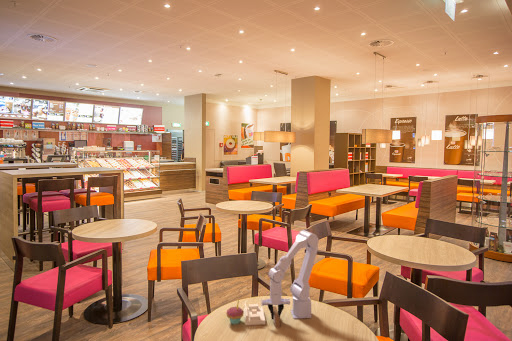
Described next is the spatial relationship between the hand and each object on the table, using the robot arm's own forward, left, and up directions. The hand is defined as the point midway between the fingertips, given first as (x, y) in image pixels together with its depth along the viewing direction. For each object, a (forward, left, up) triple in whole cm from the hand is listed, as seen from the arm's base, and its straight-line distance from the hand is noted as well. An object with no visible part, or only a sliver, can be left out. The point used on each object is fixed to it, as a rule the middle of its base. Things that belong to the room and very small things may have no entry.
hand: (275, 318), depth 158 cm
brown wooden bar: (0, 0, -2) cm, 2 cm away
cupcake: (+21, -1, -2) cm, 21 cm away
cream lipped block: (+11, -4, -1) cm, 11 cm away
